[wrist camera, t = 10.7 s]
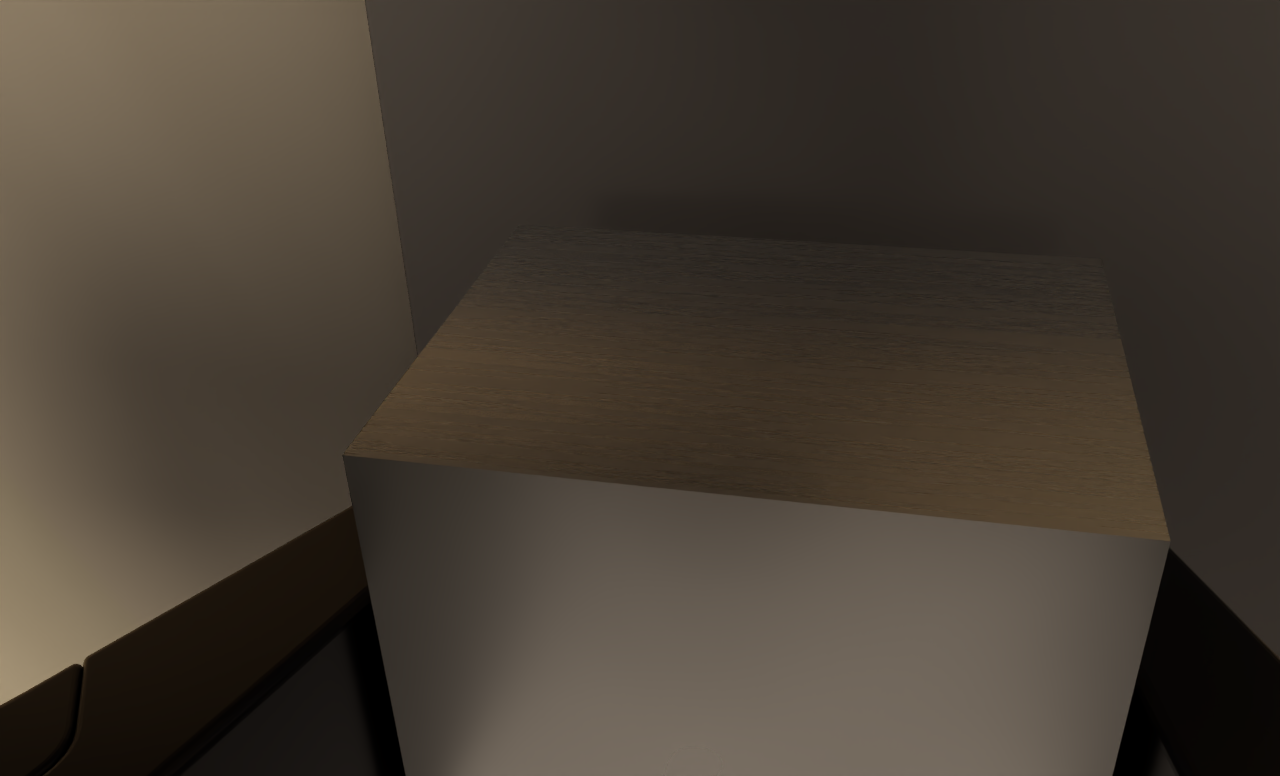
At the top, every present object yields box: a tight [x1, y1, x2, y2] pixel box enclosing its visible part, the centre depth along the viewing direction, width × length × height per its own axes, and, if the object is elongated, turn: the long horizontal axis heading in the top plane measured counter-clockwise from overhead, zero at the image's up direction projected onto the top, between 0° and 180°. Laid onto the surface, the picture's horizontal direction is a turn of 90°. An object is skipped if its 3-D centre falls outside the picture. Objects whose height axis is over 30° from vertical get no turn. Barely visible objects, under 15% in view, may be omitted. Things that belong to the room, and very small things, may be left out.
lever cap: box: [343, 225, 1170, 776], centre depth 8 cm, size 4×4×3 cm
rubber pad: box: [365, 0, 1280, 658], centre depth 10 cm, size 8×6×1 cm
